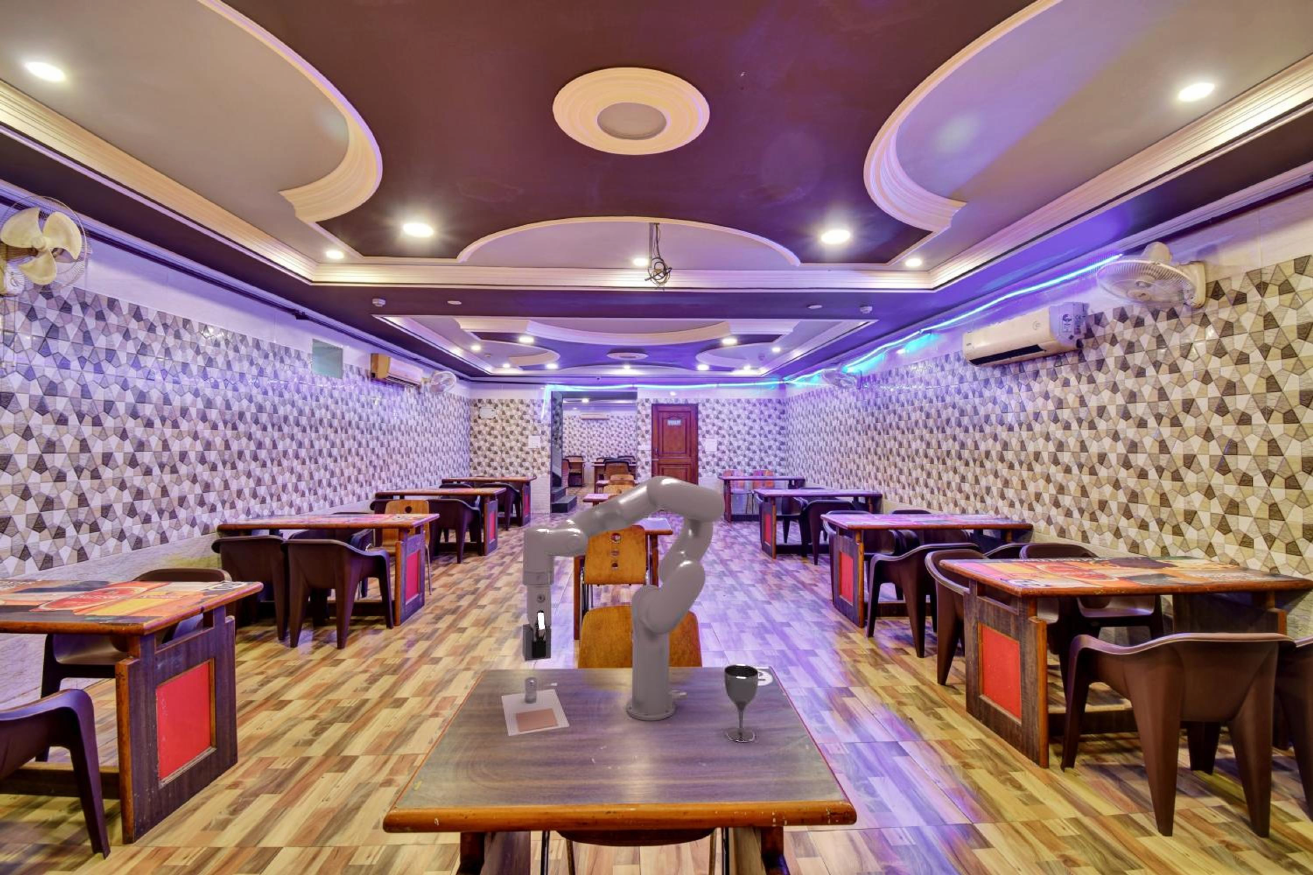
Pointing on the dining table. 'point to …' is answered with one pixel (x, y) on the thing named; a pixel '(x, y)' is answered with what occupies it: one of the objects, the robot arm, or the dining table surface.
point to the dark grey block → (528, 641)
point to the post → (530, 690)
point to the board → (533, 713)
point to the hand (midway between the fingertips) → (536, 651)
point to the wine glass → (740, 695)
